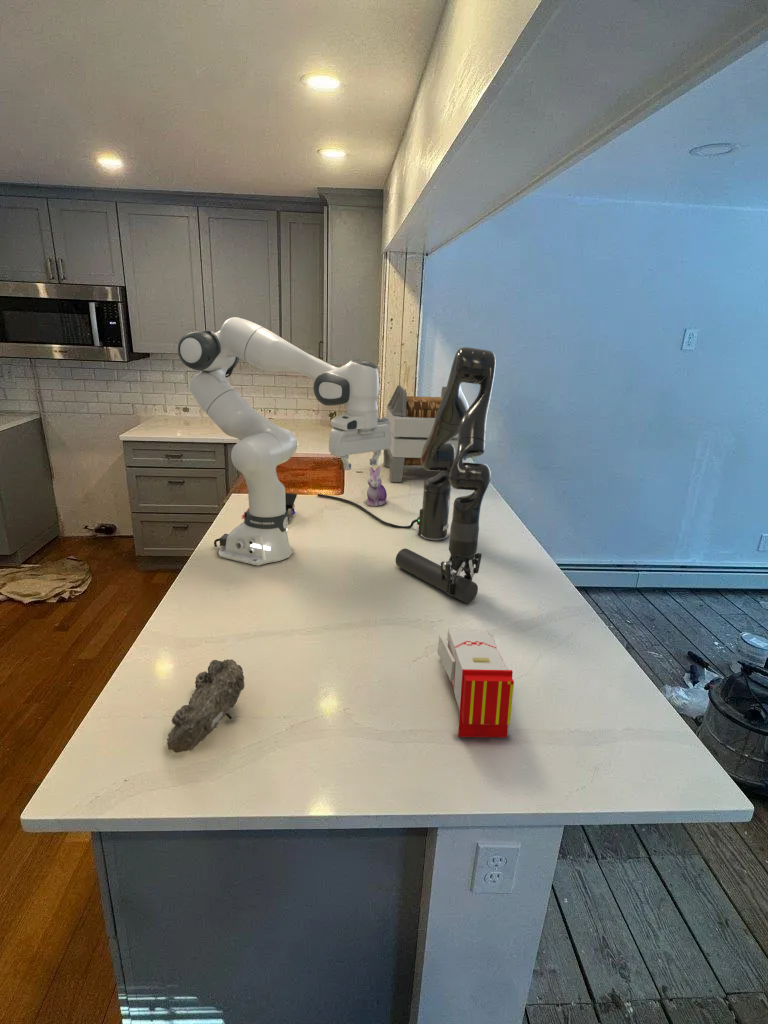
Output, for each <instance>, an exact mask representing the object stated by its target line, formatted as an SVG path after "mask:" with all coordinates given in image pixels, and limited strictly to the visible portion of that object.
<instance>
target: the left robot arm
mask: <svg viewBox="0 0 768 1024" xmlns="http://www.w3.org/2000/svg"><path fill="white" fill-rule="evenodd" d="M177 354H178V355H177V356H178V357H179V359H180V361H181V363H182V364H183V365H185V366H186V367H187V368H189V369H192V370H194V371H196V372H195V374H194V375H193V376H192V378H191V379H190V381H189V391H190V393H191V395H192V396H193V399H195V401H196V403H197V404H198V405H199V406H200V408H201V409H202V411H204V413H205V414H206V415H207V416H208V417H209V418H210V419H211V420H212V421H213V422H214V424H215V425H216V426H217V427H218V428H219V429H220V430H221V431H222V432H223V433H224V434H225V435H227V436H229V437H232V438H235V439H237V440H239V441H237V443H235V444H234V446H232V448H231V452H230V459H231V463H232V465H233V467H234V468H235V469H236V470H237V471H238V472H239V473H240V474H242V476H243V477H244V478H243V479H244V482H245V484H246V487H247V496H248V508H247V510H246V511H245V512H243V514H242V515H241V520H243V519H244V520H243V522H241V523H240V524H238V525H237V526H236V527H234V528H233V529H232V530H231V531H229V533H224V534H223V535H221V537H219V538H216V539H214V541H213V546H214V548H217V547H218V543H217V542H219V546H220V548H219V550H218V557H220V558H224V559H227V560H232V561H235V562H236V561H237V562H240V563H245V564H249V565H252V566H263V565H265V564H269V563H276V562H281V561H283V560H284V561H285V560H286V559H288V558H289V557H291V555H292V554H293V550H292V547H291V545H290V542H289V536H288V526H289V522H288V518H287V510H286V499H285V493H286V487H285V485H284V484H283V482H281V481H280V480H279V478H278V474H277V467H278V466H281V464H284V463H286V462H288V461H289V460H290V459H291V458H292V457H293V456H294V455H295V454H296V451H297V449H298V440H297V437H296V436H295V434H294V433H293V432H292V431H291V430H290V429H287V428H284V427H282V426H279V425H277V424H276V423H274V422H272V421H271V420H269V419H268V418H266V416H264V415H263V414H260V413H259V412H258V411H257V410H256V409H254V408H253V407H252V406H251V405H250V404H249V403H248V402H247V401H246V399H244V398H243V397H242V396H241V395H240V393H239V392H238V391H237V389H235V388H234V387H233V386H232V385H231V384H230V383H229V381H228V380H227V378H229V377H231V376H232V374H233V372H234V369H235V368H236V367H237V366H238V363H239V360H242V361H244V362H245V363H247V364H249V365H251V367H252V366H253V367H255V368H256V369H259V370H263V371H266V372H270V373H271V372H272V373H273V372H275V373H276V372H277V373H279V372H281V373H282V372H284V373H285V372H287V373H289V372H290V373H297V374H300V375H303V376H305V377H308V378H310V379H311V380H314V381H313V394H314V396H315V398H316V400H317V401H318V402H319V403H320V404H321V405H324V406H328V407H336V406H340V405H344V406H345V407H346V412H343V413H341V414H340V415H338V416H336V417H334V418H332V419H331V420H330V426H331V427H332V428H331V429H330V431H329V437H328V452H329V453H330V455H332V456H334V457H337V458H338V457H339V458H340V460H341V462H342V464H343V470H344V471H351V470H352V463H349V461H348V459H349V457H350V456H351V455H358V454H365V453H371V452H372V453H373V454H372V457H371V458H369V465H370V466H371V467H373V466H377V465H378V460H379V458H380V456H381V454H382V451H384V450H385V449H389V448H390V446H391V430H390V421H389V420H388V419H387V418H386V416H384V417H379V406H378V399H379V395H380V393H379V392H380V379H379V370H378V367H377V366H376V365H375V364H374V363H373V362H371V361H368V360H365V359H359V358H358V359H357V358H356V359H351V360H350V361H348V362H347V363H346V364H344V365H341V366H339V365H335V364H332V363H329V362H328V361H326V360H323V359H321V358H319V357H317V356H315V355H313V354H311V353H309V352H307V351H305V350H304V349H301V348H299V347H298V346H296V345H294V344H293V343H291V342H289V341H287V340H286V339H284V338H283V337H281V336H279V335H278V334H276V333H274V332H273V331H271V330H269V329H267V328H265V327H264V326H262V325H261V324H259V323H255V322H254V321H251V320H248V319H245V318H242V317H238V316H232V317H229V318H228V319H226V320H225V321H224V322H223V324H222V325H221V327H220V329H219V330H218V331H217V332H214V331H213V330H196V331H191V332H188V333H186V334H184V335H183V336H182V337H181V338H180V339H179V341H178V344H177Z"/></svg>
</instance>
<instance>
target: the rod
mask: <svg viewBox="0 0 768 1024" xmlns="http://www.w3.org/2000/svg"><path fill="white" fill-rule="evenodd" d="M395 565H396V566H397V567H398V568H399V569H401V570H404V571H405V572H407V573H409V574H411V575H413V576H415V577H416V578H418V579H420V580H422V581H423V582H426V583H428V584H429V585H431V586H433V587H435V588H437V589H438V590H439V591H442V592H444V593H446V586H447V583H445V582H443V581H441V564H438V563H437V562H435V561H433V560H431V559H428V558H426V557H424V556H422V555H421V554H419V553H417V552H414V551H413V550H410V549H409V548H402V549H400V550H399V551H398V552H397V554H396V556H395ZM445 577H446V576H445ZM452 578H453V575H452V576H451V579H452ZM454 584H455V590H454V595H453V596H452V597H453V598H455V599H457V600H459V601H460V602H462V603H464V604H470V603H472V602H473V601H474V600H475V599H476V597H477V595H478V591H479V587H478V584H477V583H476V582H475V581H473V580H472V581H470V580H468V579H466V578H464V576H462V575H460V576H459V577H457V579H456V581H455V583H454Z"/></svg>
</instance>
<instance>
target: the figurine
mask: <svg viewBox="0 0 768 1024" xmlns="http://www.w3.org/2000/svg"><path fill="white" fill-rule="evenodd" d="M381 469H382V468H381V466H378V467H377V468H376V469H375V470H374V468H373V466H370V467H369V477H368V479H367V484H368V488H367V491H366V497H367V498H366V504H367V506H370V507H377V506H383V505H385V504H386V502H387V496H388V494H387V493H388V492H387V490H386V488H385V486H384V485H383V484H382V478H381V475H380V474H381Z"/></svg>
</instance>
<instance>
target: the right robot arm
mask: <svg viewBox="0 0 768 1024" xmlns="http://www.w3.org/2000/svg"><path fill="white" fill-rule="evenodd" d="M496 363H497V361H496V355H495V353H494V352H493V351H491V350H488V349H481V348H475V347H470V346H462V347H460V348H459V349H458V350H457V351H456V353H455V354H454V358H453V361H452V364H451V368H450V373H449V376H448V380H447V383H446V386H445V387H446V390H445V393H444V396H443V398H442V401H441V403H440V406H439V408H438V411H437V414H436V418H435V421H434V424H433V427H432V430H431V432H430V434H429V436H428V438H427V440H426V443H425V445H424V447H423V450H422V453H421V465H422V466H421V467H422V468H423V470H426V471H428V472H429V471H430V472H438V473H437V474H435V475H433V476H431V477H429V478H427V479H425V480H424V482H423V493H422V496H423V497H422V506H421V508H420V509H419V516H418V517H417V518H416V519H413V520H412V521H411V523H410V524H409V525H398V524H394V523H390V522H387V521H385V520H383V519H381V518H380V517H378V516H376V515H375V514H373V513H372V512H371V511H369V510H367V509H366V508H365V507H363V506H362V505H360V504H358V503H356V502H354V501H351V500H348V499H345V498H342V497H338V496H334V495H333V496H332V495H328V494H322V493H318V494H317V497H320V498H327V499H332V500H337V501H342V502H345V503H347V504H351V505H353V506H355V507H357V508H358V509H360V510H361V511H364V512H365V513H366V514H367V515H369V516H370V517H372V518H373V519H375V520H377V521H378V522H379V523H381V524H383V525H384V526H388V527H391V528H396V529H411V528H413V526H414V524H416V525H417V526H418V530H417V535H418V536H420V538H421V539H424V540H426V541H432V542H440V541H444V540H446V539H447V538H448V529H449V527H450V530H449V542H448V551H449V553H450V556H449V559H448V560H447V561H444V560H443V561H441V562H440V566H441V581H443V582H445V583H447V586H446V592H445V593H446V594H447V595H448V596H450V597H453V595H454V590H455V584H454V583H455V581H456V579H457V577H459V576H461V574H462V572H463V573H464V575H463V577H464V578H466V579H468V580H470V581H472V582H473V578H474V576H475V574H478V573H479V571H480V566H481V561H482V557H483V554H482V553H481V552H478V543H479V535H480V533H479V532H480V515H481V507H482V503H483V499H484V496H485V494H486V492H487V490H488V487H489V485H490V482H491V480H492V479H491V478H492V471H491V469H490V467H489V465H487V464H486V463H478V462H465V461H466V460H468V459H471V458H477V457H481V456H483V454H484V453H485V451H486V432H487V420H488V412H489V407H490V402H491V398H492V391H493V385H494V380H495V373H496ZM462 383H465V384H473V385H479V391H478V392H477V393H478V394H477V396H476V397H475V399H474V401H473V402H472V404H471V405H470V406H469V403H468V400H467V399H466V398H467V397H466V396H465V394H464V392H463V390H462V386H461V384H462ZM458 434H459V436H458V448H457V453H456V457H455V449H454V446H453V445H452V444H450V443H446V442H448V441H449V440H451V439H452V438H454V437H455V436H456V435H458ZM452 489H455V490H464V491H473V492H472V493H471V494H468V495H464V496H463V495H462V496H458V497H456V498H455V499H454V501H453V507H452V519H451V523H450V524H449V517H450V516H449V514H450V504H451V494H452V493H451V491H452ZM452 575H453V578H452V579H451V576H452ZM445 576H446V577H445Z"/></svg>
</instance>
